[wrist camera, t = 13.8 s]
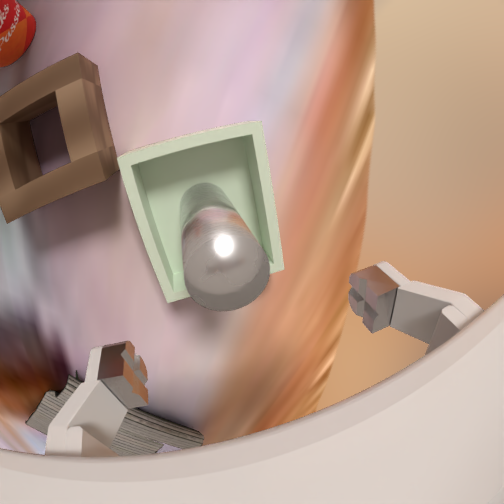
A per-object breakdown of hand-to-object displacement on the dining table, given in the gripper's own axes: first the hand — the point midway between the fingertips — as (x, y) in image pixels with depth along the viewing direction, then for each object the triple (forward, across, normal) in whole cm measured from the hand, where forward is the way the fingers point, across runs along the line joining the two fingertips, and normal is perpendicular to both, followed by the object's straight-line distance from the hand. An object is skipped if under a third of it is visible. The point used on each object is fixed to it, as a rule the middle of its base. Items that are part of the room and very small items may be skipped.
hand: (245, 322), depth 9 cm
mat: (+16, +26, +30) cm, 43 cm away
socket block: (+16, +10, -9) cm, 21 cm away
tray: (+16, 0, +1) cm, 16 cm away
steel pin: (+15, 0, +1) cm, 15 cm away
